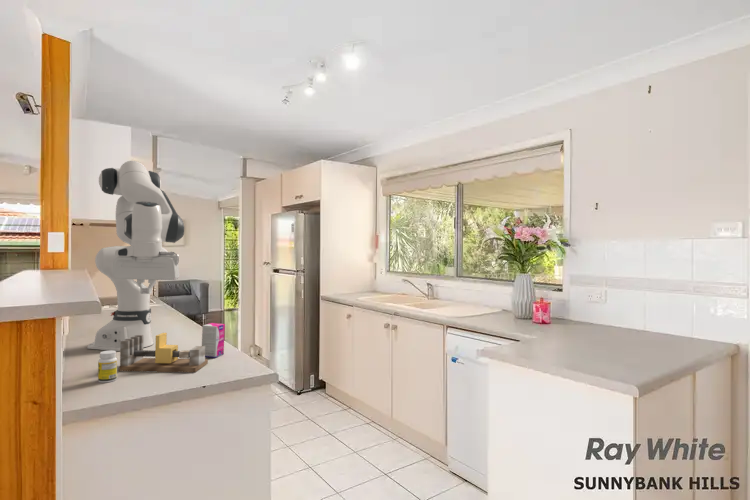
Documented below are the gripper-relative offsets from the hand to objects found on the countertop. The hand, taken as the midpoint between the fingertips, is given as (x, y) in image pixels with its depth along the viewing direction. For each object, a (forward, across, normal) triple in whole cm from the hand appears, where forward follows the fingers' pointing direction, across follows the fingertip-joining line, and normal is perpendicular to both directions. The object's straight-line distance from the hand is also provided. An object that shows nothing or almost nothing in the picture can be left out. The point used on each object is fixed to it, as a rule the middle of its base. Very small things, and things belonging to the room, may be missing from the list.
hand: (146, 293), depth 138 cm
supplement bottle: (+24, +4, +14) cm, 28 cm away
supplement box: (+24, -16, -15) cm, 33 cm away
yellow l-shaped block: (+22, -7, 0) cm, 23 cm away
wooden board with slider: (+24, -6, 0) cm, 25 cm away
